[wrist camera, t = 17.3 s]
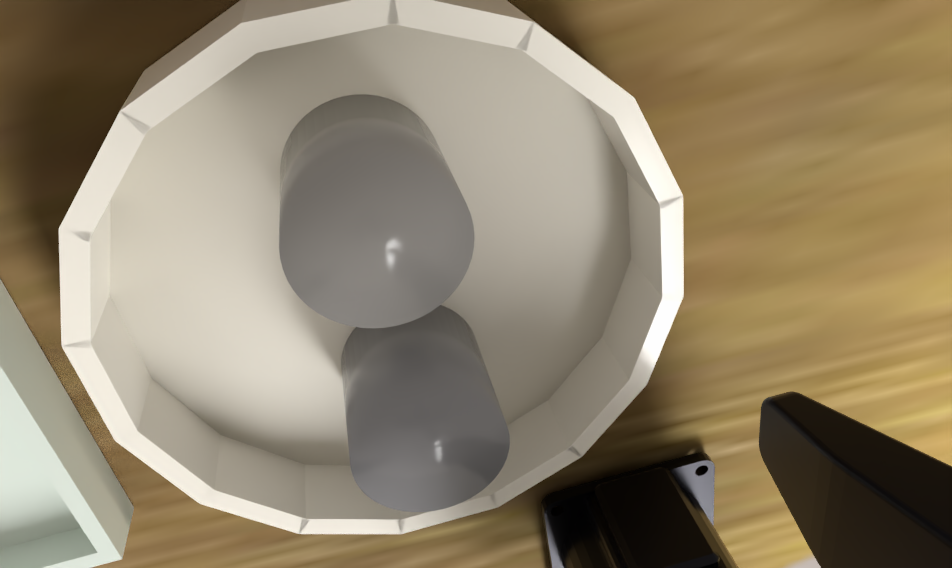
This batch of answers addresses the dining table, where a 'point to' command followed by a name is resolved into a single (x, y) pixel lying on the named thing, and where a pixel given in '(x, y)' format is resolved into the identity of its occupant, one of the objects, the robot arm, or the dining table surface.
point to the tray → (50, 465)
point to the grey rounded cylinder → (421, 413)
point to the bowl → (322, 340)
